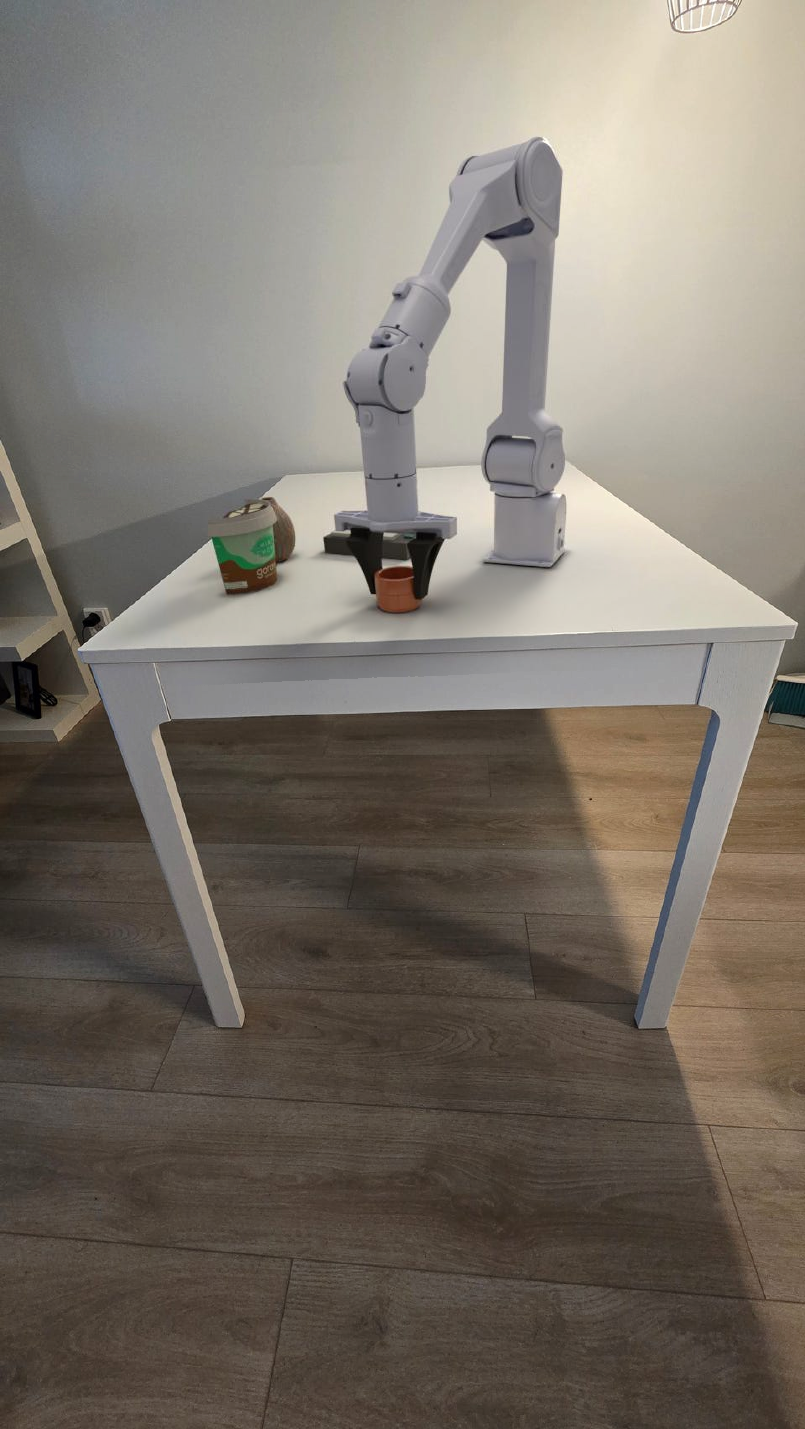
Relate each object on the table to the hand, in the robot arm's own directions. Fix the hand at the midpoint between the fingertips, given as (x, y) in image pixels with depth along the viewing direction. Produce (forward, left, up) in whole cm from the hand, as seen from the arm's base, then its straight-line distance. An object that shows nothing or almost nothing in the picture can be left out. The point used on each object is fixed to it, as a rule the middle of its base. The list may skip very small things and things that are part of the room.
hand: (398, 594), depth 76 cm
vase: (+27, -12, -2) cm, 30 cm away
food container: (+22, -2, -2) cm, 22 cm away
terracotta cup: (0, 0, -1) cm, 1 cm away
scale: (+14, -22, -1) cm, 26 cm away
